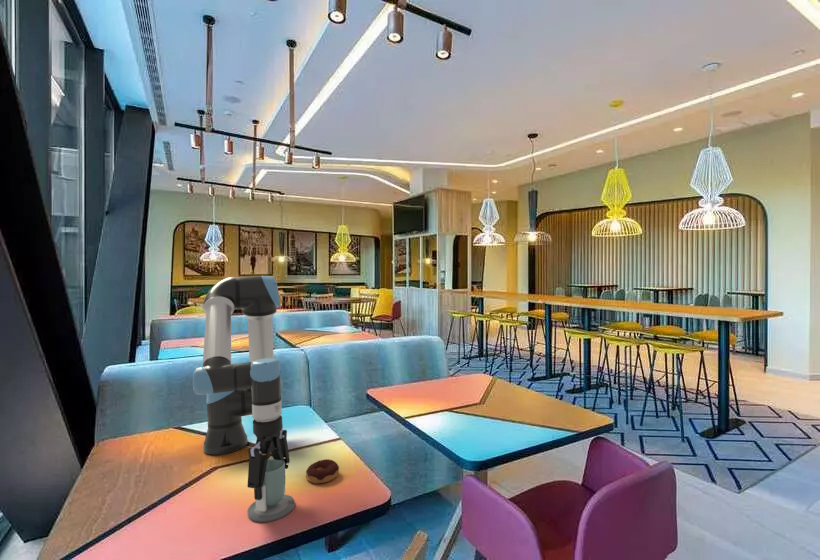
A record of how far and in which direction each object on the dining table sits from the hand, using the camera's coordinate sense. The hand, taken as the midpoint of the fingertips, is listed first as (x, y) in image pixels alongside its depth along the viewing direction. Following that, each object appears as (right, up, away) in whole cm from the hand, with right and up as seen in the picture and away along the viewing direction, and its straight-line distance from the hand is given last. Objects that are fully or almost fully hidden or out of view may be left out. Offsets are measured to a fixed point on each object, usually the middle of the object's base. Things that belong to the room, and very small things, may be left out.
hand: (271, 501), depth 110 cm
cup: (0, 0, 0) cm, 0 cm away
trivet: (0, -2, 0) cm, 2 cm away
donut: (+10, -2, +17) cm, 20 cm away
